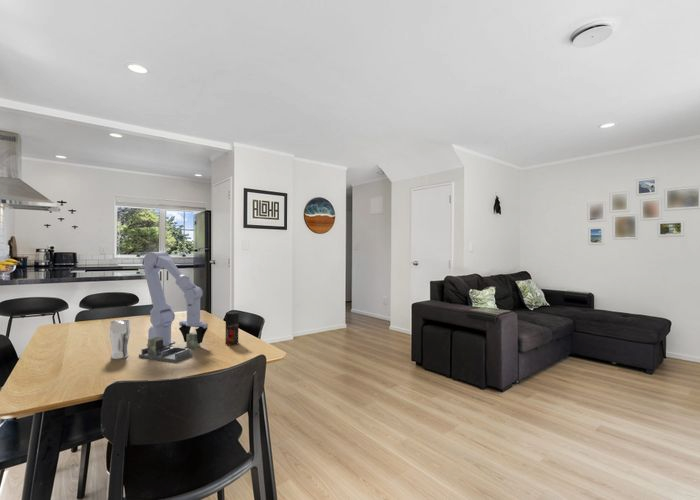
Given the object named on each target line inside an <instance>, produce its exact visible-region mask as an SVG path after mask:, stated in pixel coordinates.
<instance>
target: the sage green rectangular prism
mask: <svg viewBox="0 0 700 500" xmlns="http://www.w3.org/2000/svg"><path fill="white" fill-rule="evenodd" d="M185 343H186V344H185V345H186V347H185V348H188V349H191V348H192V349H195V348H197V347H200V346H201V345H200V344H201V343H198V342H197V333H196V331H195V332H193V331H192V332H190V333H189V334H187V341H186V342H185Z"/></svg>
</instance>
